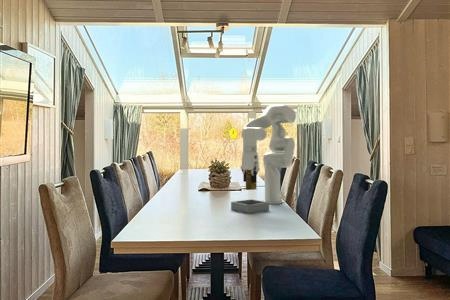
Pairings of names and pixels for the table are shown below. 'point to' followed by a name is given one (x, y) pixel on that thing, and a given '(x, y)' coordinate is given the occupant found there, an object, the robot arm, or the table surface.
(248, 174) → the condiment
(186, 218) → the table surface
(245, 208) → the box
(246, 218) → the table surface
